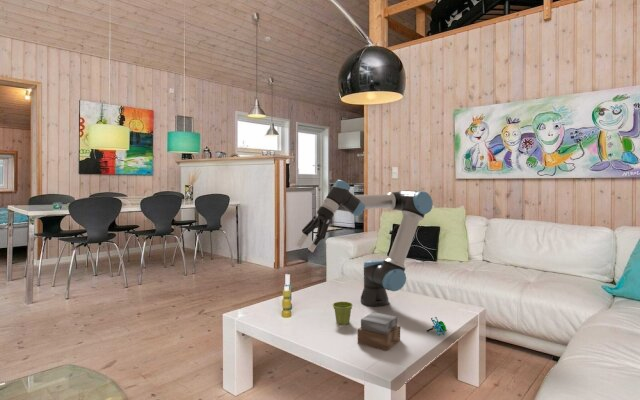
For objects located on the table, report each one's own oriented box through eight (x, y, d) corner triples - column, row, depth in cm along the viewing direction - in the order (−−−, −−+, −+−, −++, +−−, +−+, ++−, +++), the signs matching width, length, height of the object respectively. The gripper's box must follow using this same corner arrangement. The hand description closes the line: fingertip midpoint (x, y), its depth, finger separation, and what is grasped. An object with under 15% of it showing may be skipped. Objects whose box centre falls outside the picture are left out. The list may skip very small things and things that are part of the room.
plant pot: (339, 327, 181) (339, 309, 180) (329, 321, 189) (329, 303, 189) (356, 324, 185) (356, 305, 185) (346, 317, 193) (346, 300, 193)
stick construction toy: (441, 333, 168) (432, 315, 172) (427, 340, 171) (419, 322, 175) (451, 333, 177) (443, 316, 181) (438, 339, 180) (430, 322, 184)
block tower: (372, 333, 174) (372, 310, 174) (400, 340, 167) (400, 316, 166) (357, 343, 164) (357, 319, 163) (386, 351, 156) (386, 326, 156)
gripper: (310, 204, 197) (287, 240, 192) (334, 207, 175) (309, 248, 170) (321, 212, 200) (299, 248, 195) (346, 216, 177) (322, 257, 173)
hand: (303, 248), depth 183 cm, fingers open, 13 cm apart
